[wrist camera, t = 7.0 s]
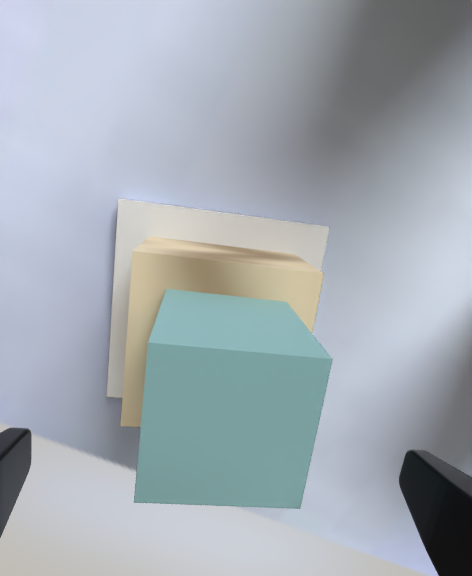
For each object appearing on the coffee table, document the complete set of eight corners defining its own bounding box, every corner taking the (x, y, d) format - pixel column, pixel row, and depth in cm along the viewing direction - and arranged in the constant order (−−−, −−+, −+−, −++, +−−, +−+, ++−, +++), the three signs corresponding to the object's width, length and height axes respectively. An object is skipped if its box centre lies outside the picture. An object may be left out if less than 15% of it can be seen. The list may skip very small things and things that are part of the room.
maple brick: (294, 254, 18) (324, 273, 14) (271, 383, 20) (292, 436, 16) (149, 236, 17) (132, 251, 13) (138, 372, 19) (120, 426, 15)
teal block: (286, 302, 14) (332, 359, 9) (268, 407, 15) (300, 508, 10) (166, 288, 13) (148, 342, 9) (155, 399, 15) (133, 502, 10)
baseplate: (322, 225, 19) (329, 227, 18) (289, 399, 21) (294, 409, 20) (122, 198, 18) (118, 199, 17) (110, 387, 20) (106, 396, 19)
